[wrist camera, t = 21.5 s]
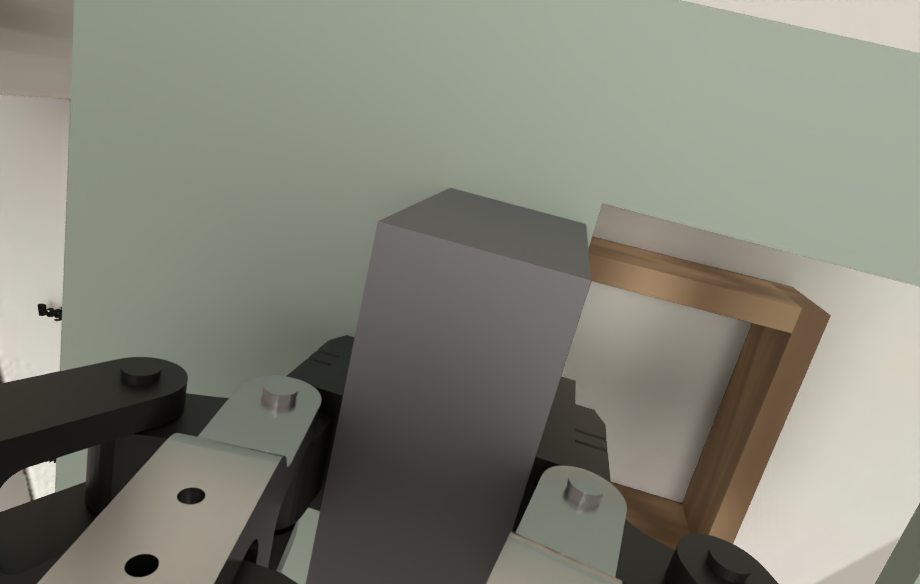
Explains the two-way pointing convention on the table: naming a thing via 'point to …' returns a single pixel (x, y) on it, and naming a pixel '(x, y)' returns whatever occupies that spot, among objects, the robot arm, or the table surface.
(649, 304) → the table surface
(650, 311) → the table surface
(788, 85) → the lid
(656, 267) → the wooden frame
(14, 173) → the table surface
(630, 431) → the table surface
